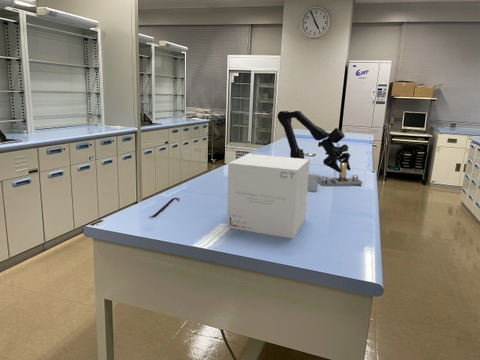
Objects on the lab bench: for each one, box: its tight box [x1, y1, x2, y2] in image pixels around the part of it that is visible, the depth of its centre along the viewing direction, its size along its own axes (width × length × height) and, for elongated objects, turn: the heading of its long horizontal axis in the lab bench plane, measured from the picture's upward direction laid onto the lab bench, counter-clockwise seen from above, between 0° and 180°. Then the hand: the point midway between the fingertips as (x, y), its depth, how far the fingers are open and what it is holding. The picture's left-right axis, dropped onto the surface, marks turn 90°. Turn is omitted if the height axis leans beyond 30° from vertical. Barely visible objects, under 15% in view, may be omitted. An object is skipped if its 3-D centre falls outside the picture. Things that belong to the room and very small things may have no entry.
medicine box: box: [307, 172, 319, 193], centre depth 190 cm, size 8×4×9 cm, turn 71°
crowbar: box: [149, 197, 181, 218], centre depth 157 cm, size 28×1×5 cm
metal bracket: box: [318, 174, 363, 187], centre depth 204 cm, size 23×8×5 cm, turn 96°
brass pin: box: [338, 162, 347, 181], centre depth 204 cm, size 4×4×12 cm
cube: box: [226, 153, 310, 239], centre depth 140 cm, size 25×21×24 cm
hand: (345, 171), depth 202 cm, fingers open, 9 cm apart
